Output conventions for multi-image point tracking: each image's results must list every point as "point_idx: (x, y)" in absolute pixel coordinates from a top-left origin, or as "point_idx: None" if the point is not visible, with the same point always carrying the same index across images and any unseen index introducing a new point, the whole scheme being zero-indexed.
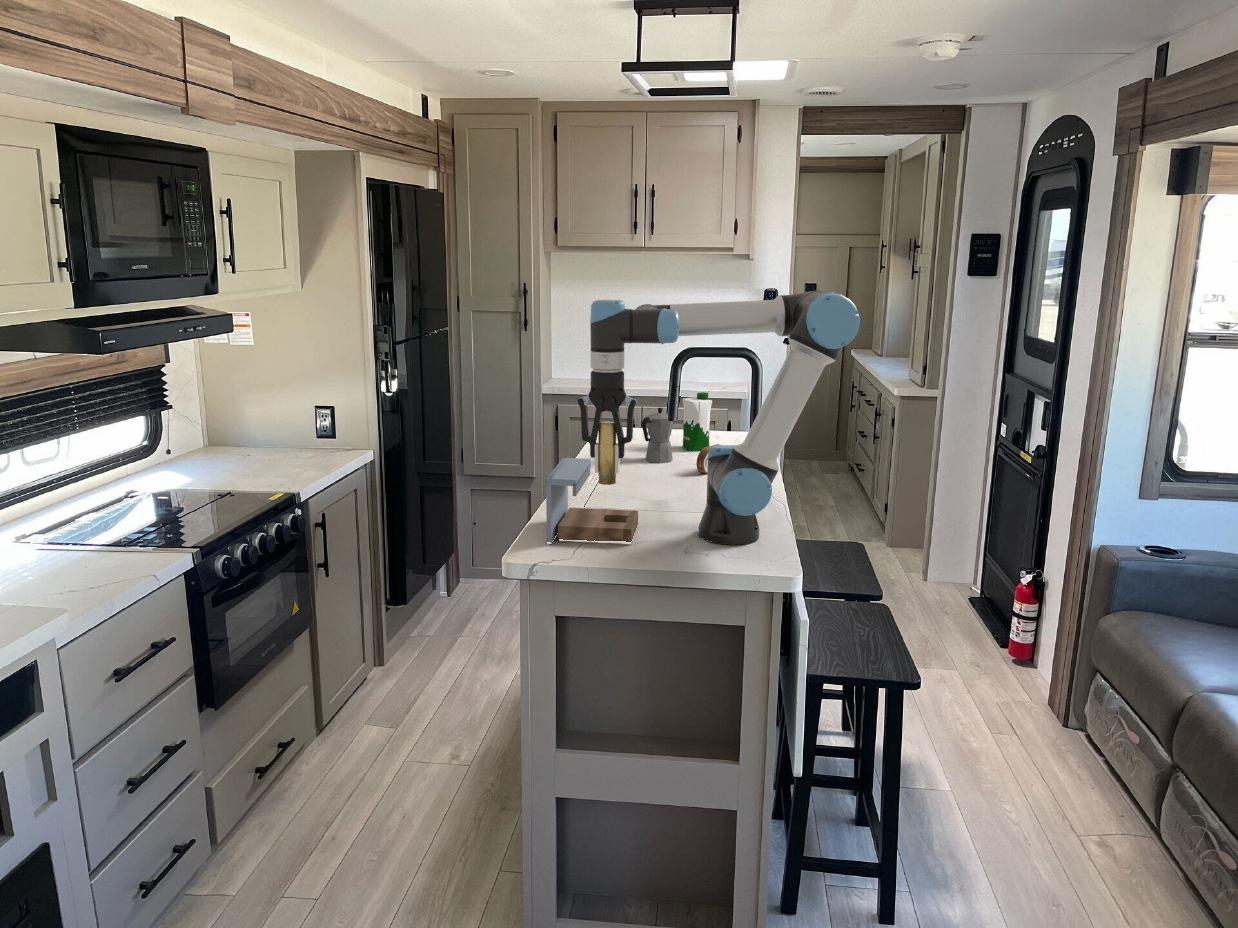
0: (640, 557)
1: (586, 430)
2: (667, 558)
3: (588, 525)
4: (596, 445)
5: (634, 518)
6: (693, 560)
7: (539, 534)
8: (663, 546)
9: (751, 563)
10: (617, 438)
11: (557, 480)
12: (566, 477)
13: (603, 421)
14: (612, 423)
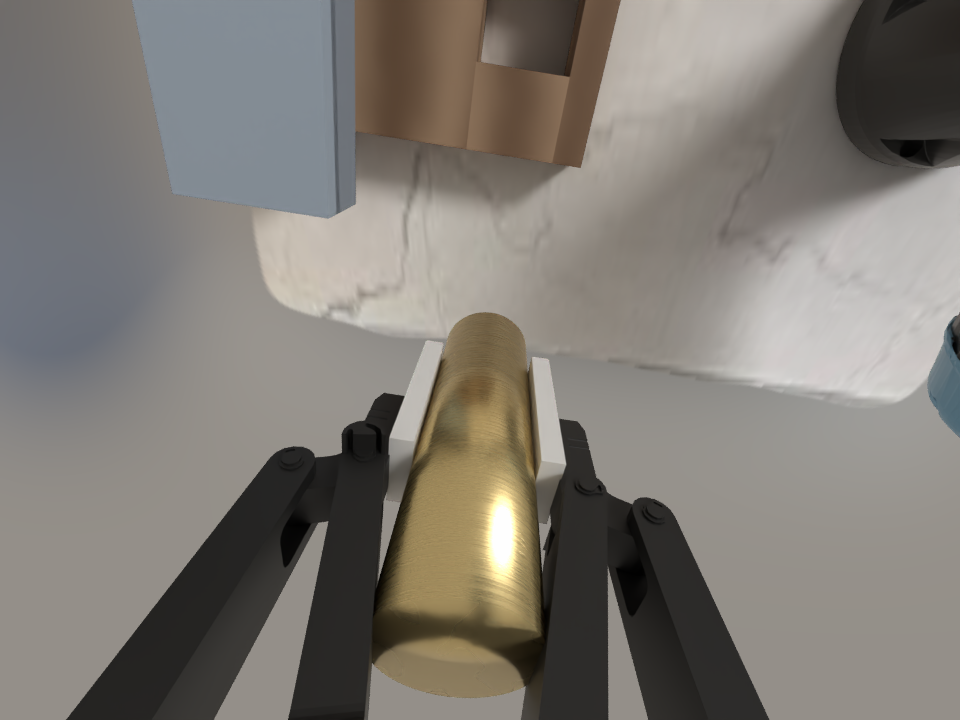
0: (583, 275)
1: (283, 582)
2: (654, 283)
3: (429, 120)
4: (399, 498)
5: (616, 3)
6: (719, 299)
7: None
8: (672, 176)
9: (864, 322)
10: (544, 562)
11: (236, 203)
12: (267, 164)
13: (408, 610)
14: (507, 674)
